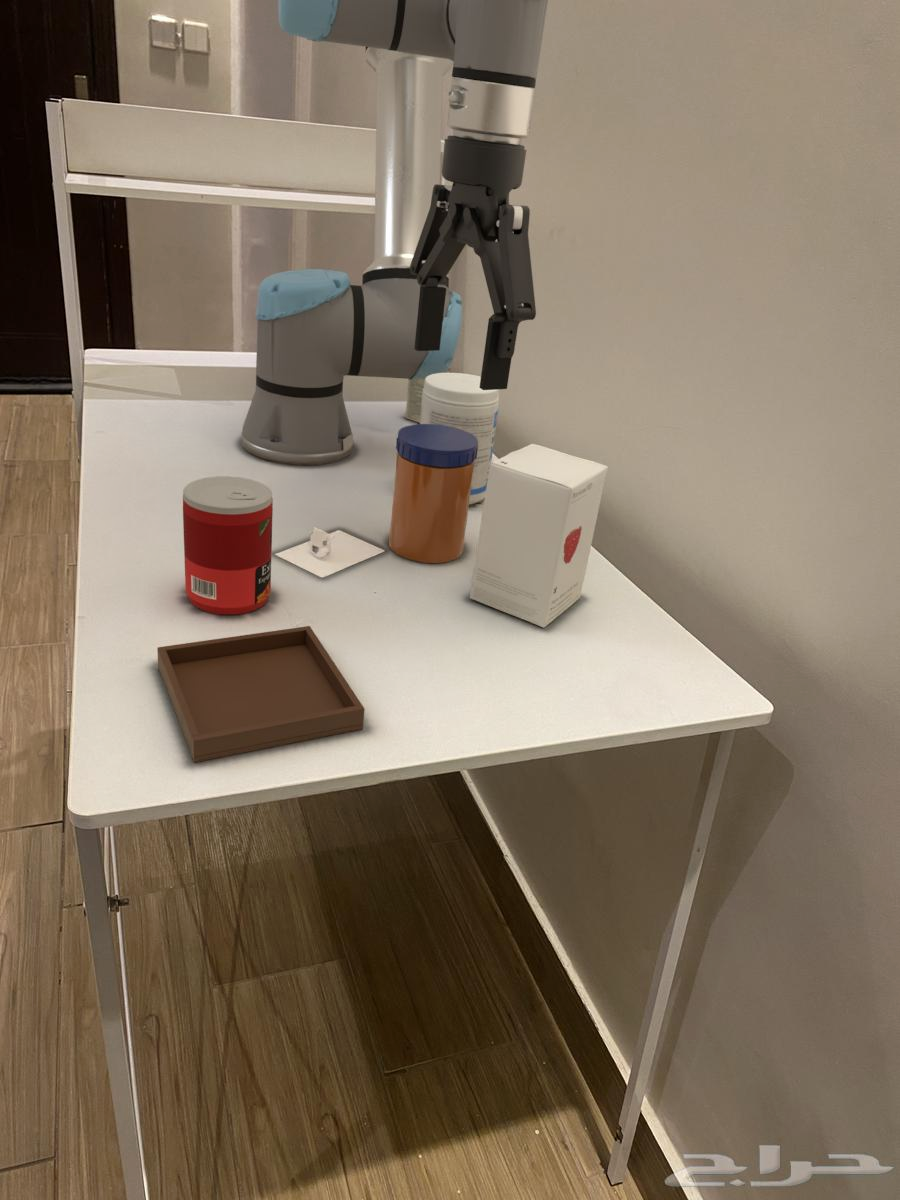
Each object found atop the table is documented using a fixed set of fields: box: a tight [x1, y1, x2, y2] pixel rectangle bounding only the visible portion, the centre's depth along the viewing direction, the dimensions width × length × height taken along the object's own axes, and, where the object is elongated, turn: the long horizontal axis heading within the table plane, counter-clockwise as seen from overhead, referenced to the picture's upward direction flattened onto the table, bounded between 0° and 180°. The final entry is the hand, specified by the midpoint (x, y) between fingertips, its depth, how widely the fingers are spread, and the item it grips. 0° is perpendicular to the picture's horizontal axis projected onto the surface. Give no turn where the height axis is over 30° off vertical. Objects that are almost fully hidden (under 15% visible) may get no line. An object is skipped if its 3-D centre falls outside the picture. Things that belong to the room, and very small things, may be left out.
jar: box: [388, 451, 475, 564], centre depth 100 cm, size 8×8×12 cm
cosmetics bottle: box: [405, 364, 452, 424], centre depth 142 cm, size 5×4×10 cm
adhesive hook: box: [306, 526, 335, 559], centre depth 97 cm, size 3×3×3 cm
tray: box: [156, 625, 365, 763], centre depth 73 cm, size 13×13×2 cm
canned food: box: [182, 475, 274, 616], centre depth 85 cm, size 8×8×11 cm
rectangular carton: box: [469, 443, 609, 628], centre depth 91 cm, size 9×9×15 cm
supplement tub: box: [419, 372, 500, 506], centre depth 115 cm, size 10×10×15 cm
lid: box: [395, 423, 478, 467], centre depth 97 cm, size 9×9×2 cm
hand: (458, 368), depth 93 cm, fingers open, 13 cm apart
